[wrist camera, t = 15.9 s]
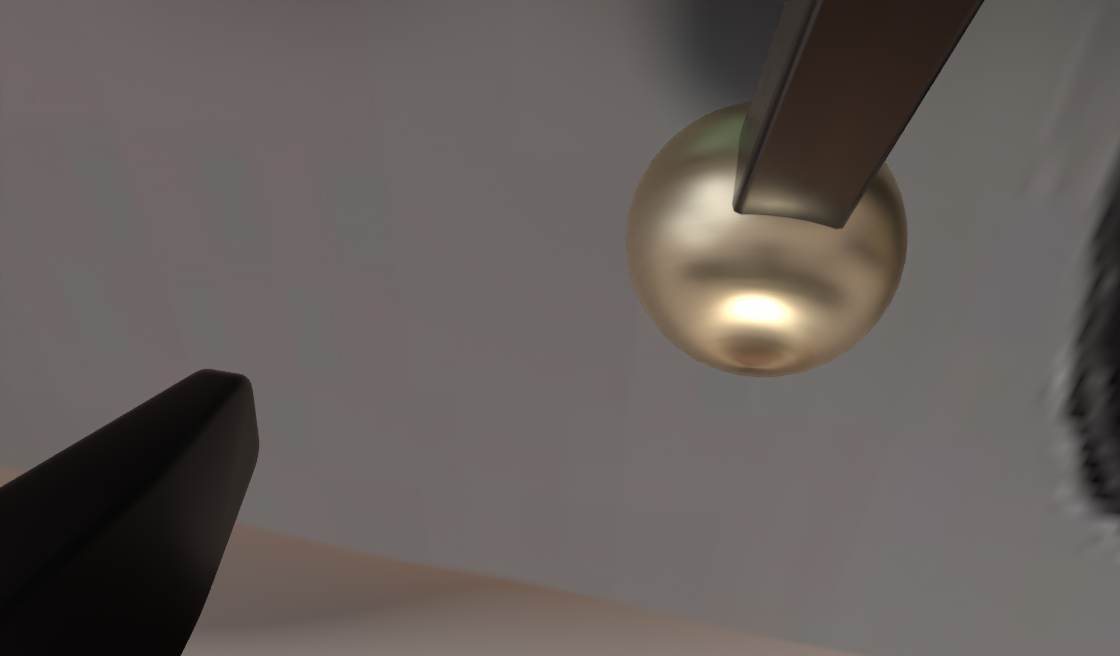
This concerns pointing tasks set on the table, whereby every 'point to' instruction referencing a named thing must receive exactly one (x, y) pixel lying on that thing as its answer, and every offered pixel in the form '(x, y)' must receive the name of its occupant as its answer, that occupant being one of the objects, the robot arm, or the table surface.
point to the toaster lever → (792, 191)
